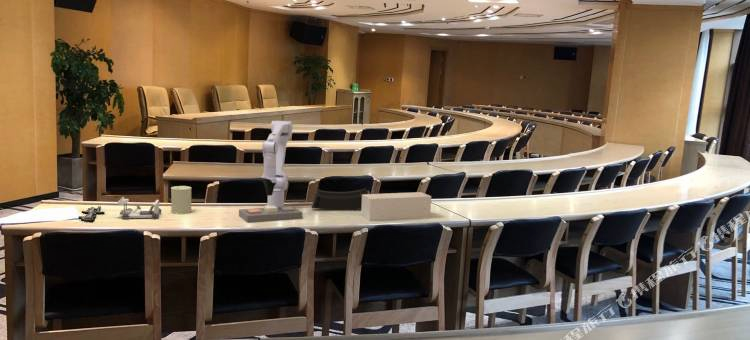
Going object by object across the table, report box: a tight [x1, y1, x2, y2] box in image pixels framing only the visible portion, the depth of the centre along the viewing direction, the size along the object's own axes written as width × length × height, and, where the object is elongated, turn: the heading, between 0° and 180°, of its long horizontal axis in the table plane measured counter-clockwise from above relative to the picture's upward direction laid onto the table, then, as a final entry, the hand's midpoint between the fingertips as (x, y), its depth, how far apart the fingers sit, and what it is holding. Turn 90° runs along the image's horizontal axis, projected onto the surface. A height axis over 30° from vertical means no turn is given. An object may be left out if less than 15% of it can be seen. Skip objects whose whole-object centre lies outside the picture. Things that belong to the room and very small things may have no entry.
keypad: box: [238, 205, 303, 223], centre depth 281 cm, size 14×26×3 cm, turn 118°
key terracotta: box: [247, 208, 261, 214], centre depth 278 cm, size 5×5×3 cm
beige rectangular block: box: [360, 191, 432, 222], centre depth 293 cm, size 32×11×11 cm, turn 113°
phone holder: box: [116, 196, 162, 221], centre depth 272 cm, size 18×10×12 cm
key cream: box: [263, 205, 278, 213], centre depth 281 cm, size 5×5×3 cm
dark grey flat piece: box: [78, 205, 105, 224], centre depth 271 cm, size 28×2×10 cm
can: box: [170, 185, 192, 215], centre depth 284 cm, size 9×9×12 cm
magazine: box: [311, 187, 370, 212], centre depth 302 cm, size 17×3×30 cm
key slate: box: [280, 207, 294, 211], centre depth 285 cm, size 5×5×3 cm
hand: (269, 195), depth 285 cm, fingers closed
